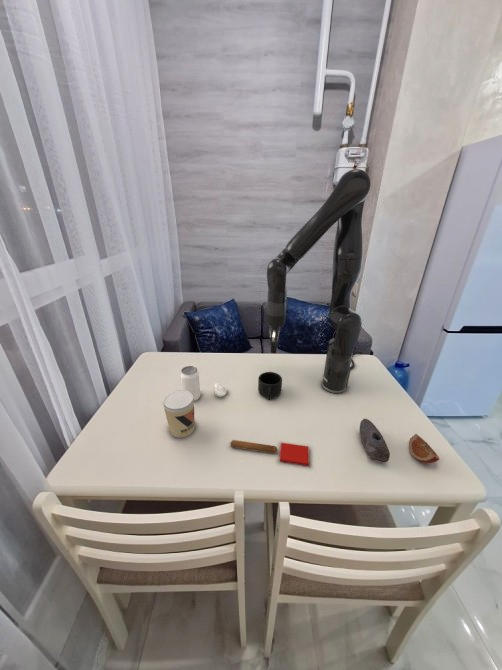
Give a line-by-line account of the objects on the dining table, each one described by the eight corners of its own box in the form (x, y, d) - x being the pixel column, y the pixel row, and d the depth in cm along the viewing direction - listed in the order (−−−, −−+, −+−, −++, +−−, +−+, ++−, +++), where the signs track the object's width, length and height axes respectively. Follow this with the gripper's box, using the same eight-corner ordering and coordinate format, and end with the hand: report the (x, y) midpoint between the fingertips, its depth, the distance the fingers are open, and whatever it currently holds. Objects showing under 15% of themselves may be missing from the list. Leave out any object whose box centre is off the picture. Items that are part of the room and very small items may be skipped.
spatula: (228, 453, 77) (228, 448, 76) (232, 437, 82) (232, 433, 81) (308, 466, 73) (309, 461, 72) (307, 448, 79) (308, 443, 78)
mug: (258, 385, 107) (259, 370, 104) (281, 387, 106) (282, 372, 103) (256, 405, 96) (256, 389, 93) (281, 407, 95) (282, 391, 92)
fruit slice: (401, 445, 80) (406, 433, 78) (423, 444, 80) (428, 432, 78) (418, 469, 73) (423, 457, 70) (442, 469, 73) (448, 456, 71)
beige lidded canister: (182, 444, 79) (178, 413, 74) (161, 431, 84) (155, 402, 79) (203, 425, 87) (200, 396, 81) (182, 414, 91) (178, 386, 86)
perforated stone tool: (353, 427, 87) (357, 410, 84) (369, 428, 86) (374, 411, 83) (368, 467, 73) (374, 449, 70) (388, 468, 73) (394, 450, 70)
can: (196, 403, 96) (194, 376, 91) (180, 400, 98) (176, 373, 92) (203, 392, 102) (200, 366, 97) (187, 390, 103) (184, 364, 98)
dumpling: (213, 390, 104) (214, 381, 103) (226, 392, 105) (227, 383, 104) (211, 398, 97) (213, 389, 96) (225, 400, 98) (227, 391, 97)
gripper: (285, 319, 92) (281, 361, 100) (286, 307, 104) (283, 345, 111) (264, 317, 93) (262, 359, 101) (268, 305, 105) (266, 344, 112)
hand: (273, 352), depth 106 cm, fingers closed
